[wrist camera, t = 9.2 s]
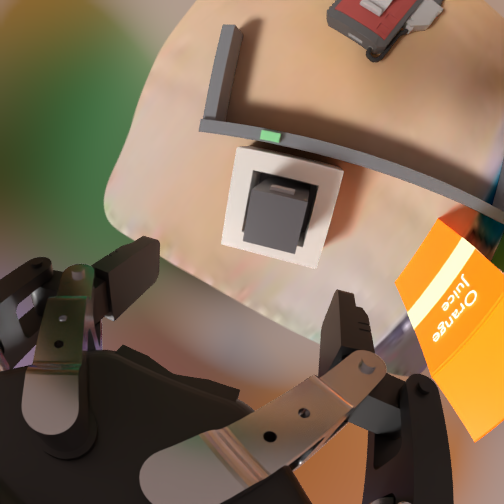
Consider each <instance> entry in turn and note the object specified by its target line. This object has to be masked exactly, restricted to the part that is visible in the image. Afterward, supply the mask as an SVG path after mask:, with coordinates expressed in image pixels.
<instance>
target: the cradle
mask: <svg viewBox="0 0 504 504" xmlns="http://www.w3.org/2000/svg"><path fill="white" fill-rule="evenodd" d="M242 38H243V34H242V33H241V32H240V30H239V29H238V28H237V27H236V25H223V26H222V30H221V34H220V38H219V43H218V47H217V51H216V56H215V60H214V65H213V69H212V74H211V79H210V84H209V89H208V94H207V99H206V105H205V110H204V116H203V119H201V121H200V127H199V132H207V133H214V134H221V135H227V136H234V137H240V138H246V139H251V140H257V141H262V142H267V143H272V144H277V145H281V146H286V147H291V148H295V149H299V150H304V151H308V152H312V153H316V154H320V155H324V156H327V157H331V158H335V159H338V160H342V161H345V162H349V163H352V164H356V165H359V166H362V167H365V168H369V169H372V170H375V171H378V172H381V173H384V174H387V175H390V176H393V177H396V178H399V179H401V180H404V181H407V182H410V183H412V184H415V185H418V186H420V187H423V188H425V189H428V190H430V191H433V192H435V193H438V194H440V195H443V196H445V197H447V198H450V199H452V200H454V201H456V202H459V203H461V204H463V205H465V206H468V207H470V208H472V209H474V210H476V211H478V212H480V213H482V214H484V215H486V216H488V217H490V218H492V219H494V220H496V221H498V222H500V223H502V224H504V159H503V164H502V169H501V173H500V178H499V182H498V186H497V190H496V194H495V197H494V201H493V204H492V205H490V204H488V203H486V202H484V201H482V200H481V199H479V198H477V197H475V196H473V195H470V194H468V193H466V192H464V191H462V190H460V189H458V188H456V187H453V186H451V185H449V184H447V183H444V182H442V181H440V180H437V179H435V178H433V177H430V176H428V175H425V174H423V173H420V172H418V171H415V170H413V169H410V168H407V167H405V166H402V165H399V164H396V163H394V162H391V161H388V160H385V159H382V158H379V157H376V156H373V155H370V154H367V153H363V152H360V151H357V150H353V149H350V148H347V147H343V146H340V145H336V144H332V143H328V142H325V141H321V140H317V139H313V138H309V137H304V136H300V135H295V134H291V133H286V132H281V131H276V130H271V129H266V128H261V127H255V126H249V125H243V124H236V123H230V122H225V121H226V116H227V111H228V105H229V100H230V95H231V90H232V85H233V80H234V75H235V70H236V66H237V61H238V56H239V52H240V47H241V43H242Z"/></svg>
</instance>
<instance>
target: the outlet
mask: <svg viewBox="0 0 504 504" xmlns="http://www.w3.org/2000/svg"><path fill="white" fill-rule="evenodd" d="M343 173H344V171H343V170H342V169H341V168H340V167H338V166H335V165H331V164H327V163H323V162H320V161H316V160H312V159H308V158H304V157H299V156H295V155H291V154H286V153H282V152H277V151H273V150H268V149H263V148H258V147H252V146H242V147H237V150H236V155H235V161H234V167H233V173H232V179H231V185H230V191H229V197H228V203H227V209H226V215H225V222H224V228H223V235H222V242H221V244H223V245H226V246H230V247H234V248H238V249H241V250H245V251H249V252H253V253H257V254H260V255H264V256H268V257H272V258H275V259H279V260H283V261H287V262H291V263H294V264H298V265H302V266H306V267H310V268H313V269H317V265H318V262H319V259H320V256H321V252H322V249H323V246H324V243H325V239H326V236H327V232H328V229H329V225H330V222H331V218H332V215H333V211H334V208H335V204H336V200H337V196H338V193H339V189H340V185H341V181H342V177H343ZM269 176H273V177H278V178H282V179H287V180H291V181H295V182H300V183H304V184H308V185H310V190H309V197H308V203H307V207H306V212H305V216H304V220H303V224H302V228H301V232H300V236H299V240H298V244H297V248H296V252H295V254H292V253H288V252H284V251H280V250H276V249H272V248H268V247H264V246H260V245H256V244H252V243H248V242H244V241H243V236H244V230H245V225H246V219H247V213H248V207H249V202H250V196H251V190H252V189H253V188H254V187H255V186H257V185H258V184H260V183H261V182H262V181H264V180H265V179H266V178H268V177H269Z"/></svg>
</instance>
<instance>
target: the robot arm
mask: <svg viewBox="0 0 504 504" xmlns="http://www.w3.org/2000/svg"><path fill="white" fill-rule="evenodd" d="M159 257H160V243H159V241H158V240H156V239H153V238H149V237H146V236H142V237H141V238H139V239H137V240H136V241H134V242H133V243H130V244H127V245H123V246H121V247H119V248H118V249H116V250H115V251H113V252H112V253H110V254H109V255H107V256H105V257H104V258H102V259H101V260H99V261H98V262H96V263H95V264H93V265H91V266H90V265H87V264H74V265H71V266H69V267H67V268H66V269H65V270H64V271H63V272H61V271H55V270H53V268H52V263H51V261H50V259H48V258H46V257H37V258H33V259H31V260H29V261H27V262H26V263H25V264H23V265H21V266H20V267H18V268H17V269H15V270H14V271H12V272H11V273H9V274H8V275H6V276H5V277H3V278H2V279H0V504H312V503H311V501H310V500H309V498H308V496H307V495H306V493H305V491H304V490H303V488H302V486H301V485H300V483H299V482H298V480H297V478H296V476H295V475H294V473H293V471H295V470H296V469H297V468H299V467H300V466H301V465H302V464H303V463H305V462H306V461H307V460H308V459H309V458H310V457H311V456H312V455H314V454H315V453H316V452H317V451H318V450H319V449H320V448H321V447H322V446H324V445H325V444H326V443H327V442H328V441H329V440H330V439H331V438H333V437H334V436H335V435H336V434H337V433H338V432H339V431H340V430H341V429H342V428H343V427H344V426H345V425H346V424H347V423H348V422H351V423H353V424H355V425H357V426H359V427H362V428H364V429H366V430H368V448H367V462H366V475H365V484H364V492H363V501H362V504H454V503H453V480H452V468H451V459H450V450H449V443H448V436H447V430H446V424H445V419H444V414H443V409H442V404H441V399H440V395H439V391H438V388H437V386H436V384H435V383H434V382H433V381H432V380H431V379H430V378H428V377H427V376H424V375H421V374H413V375H411V376H410V377H409V378H408V379H407V380H406V382H405V381H403V380H400V379H398V378H396V377H394V376H391V375H389V374H388V373H386V371H387V369H386V365H385V363H384V361H383V360H382V359H381V358H380V357H379V356H378V355H376V354H375V351H374V345H373V340H372V334H371V329H370V326H369V325H370V323H369V318H368V315H367V314H366V313H365V311H364V310H363V308H361V307H357V306H356V304H355V298H354V294H353V293H349V292H345V291H341V290H336V291H335V293H334V296H333V298H332V301H331V304H330V306H329V309H328V311H327V314H326V316H325V319H324V322H323V325H322V329H321V342H320V358H319V373H318V376H316V375H313V376H310V377H309V378H307V379H306V380H304V381H303V382H301V383H300V384H298V385H297V386H295V387H294V388H292V389H291V390H289V391H288V392H286V393H285V394H283V395H282V396H280V397H278V398H276V399H275V400H273V401H271V402H270V403H268V404H267V405H265V406H263V407H261V408H260V409H258V410H256V411H254V410H253V409H252V408H251V407H250V406H248V405H247V404H245V403H244V402H242V401H240V400H238V396H239V392H240V390H239V389H236V388H232V387H229V386H226V385H223V384H220V383H217V382H214V381H211V380H207V379H201V378H194V377H188V376H182V375H176V374H173V373H171V372H169V371H168V370H167V369H165V368H164V367H162V366H161V365H160V364H158V363H157V362H155V361H154V360H153V359H151V358H150V357H149V356H147V355H145V354H142V353H140V352H138V351H136V350H133V349H131V348H129V347H127V346H125V345H122V346H121V347H120V348H119V349H118V350H117V351H110V350H102V320H101V319H102V318H103V317H106V318H108V319H110V320H112V321H115V320H116V319H117V318H118V317H119V316H120V315H121V314H122V313H123V312H124V311H125V310H126V309H127V308H128V307H129V306H130V305H131V304H133V303H134V302H135V301H136V300H137V299H138V298H139V297H140V296H141V295H142V294H143V293H144V292H145V291H146V290H147V289H148V288H150V286H152V285H153V284H154V283H155V281H156V279H157V278H158V275H159V259H160V258H159ZM30 294H31V298H32V301H33V305H34V307H33V308H32V309H31V310H30V311H28V312H27V313H26V314H25V315H24V316H23V317H21V318H20V319H19V320H18V317H17V314H16V308H17V306H18V304H19V303H20V302H21V301H22V300H24V299H25V298H26V297H27V296H29V295H30ZM35 345H36V348H35V354H34V359H33V363H32V365H28V366H24V367H19V368H14V366H15V365H16V364H17V363H18V362H19V361H20V360H21V359H22V358H23V357H24V356H25V355H26V354H27V353H28V352H29V351H30V350H31V349H32V348H33V347H34V346H35ZM13 368H14V369H13Z"/></svg>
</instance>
